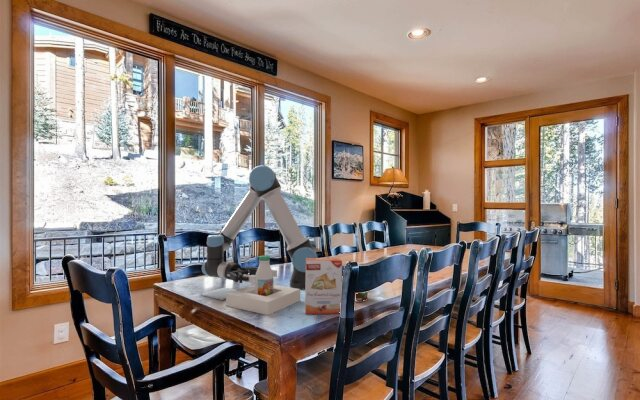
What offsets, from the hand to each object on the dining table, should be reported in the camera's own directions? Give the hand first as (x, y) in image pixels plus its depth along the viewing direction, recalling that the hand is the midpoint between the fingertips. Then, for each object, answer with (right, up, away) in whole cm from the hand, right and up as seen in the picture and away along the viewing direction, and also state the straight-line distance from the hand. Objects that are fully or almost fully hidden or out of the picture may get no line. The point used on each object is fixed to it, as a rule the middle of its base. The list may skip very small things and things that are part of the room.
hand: (266, 276), depth 144 cm
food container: (+41, -12, +7) cm, 44 cm away
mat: (-22, -11, +14) cm, 29 cm away
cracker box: (+24, -12, -10) cm, 28 cm away
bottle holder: (-1, -11, +1) cm, 11 cm away
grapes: (+37, -12, +27) cm, 47 cm away
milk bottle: (-1, -12, +1) cm, 12 cm away
